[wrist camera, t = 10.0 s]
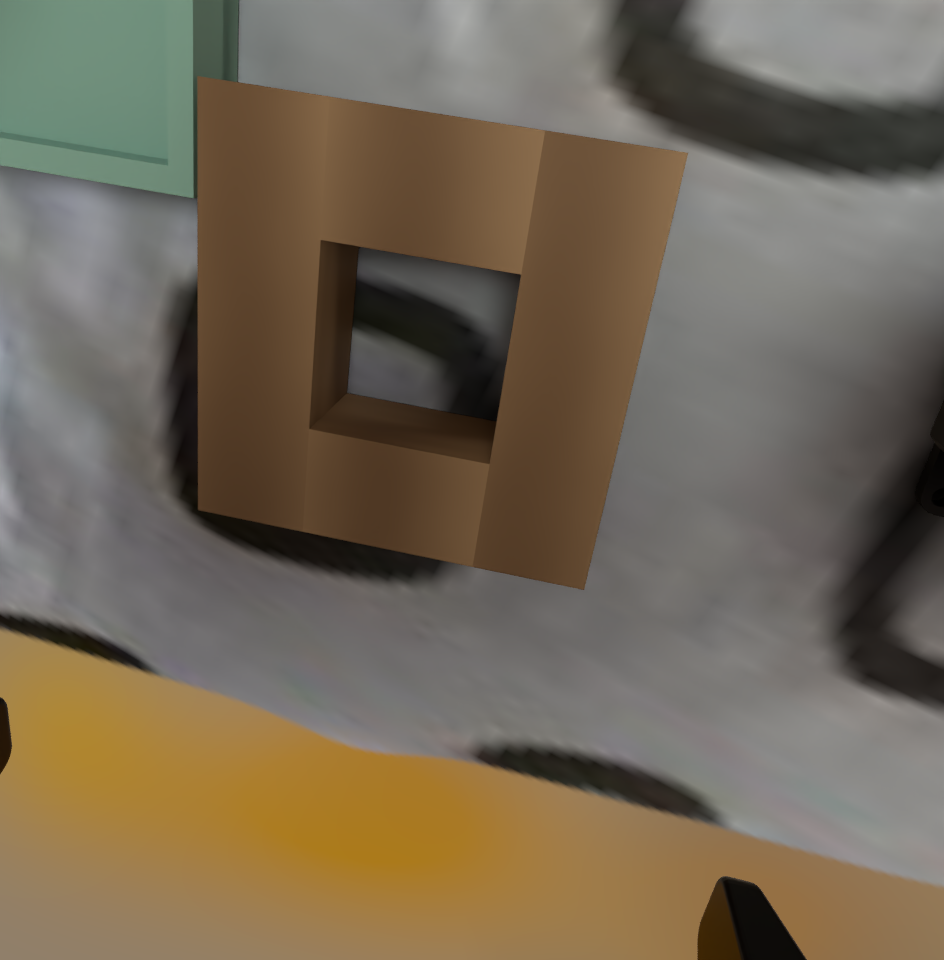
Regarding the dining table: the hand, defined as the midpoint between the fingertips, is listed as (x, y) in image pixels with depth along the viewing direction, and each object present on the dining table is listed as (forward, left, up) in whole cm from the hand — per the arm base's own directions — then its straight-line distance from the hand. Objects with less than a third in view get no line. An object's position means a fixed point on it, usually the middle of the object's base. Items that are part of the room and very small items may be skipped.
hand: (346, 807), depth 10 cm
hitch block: (+2, -3, -13) cm, 13 cm away
